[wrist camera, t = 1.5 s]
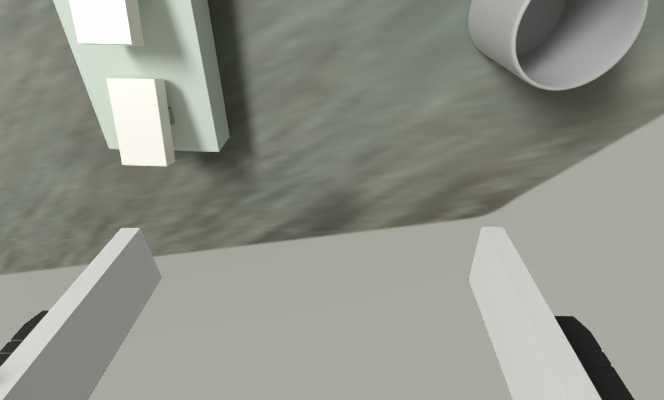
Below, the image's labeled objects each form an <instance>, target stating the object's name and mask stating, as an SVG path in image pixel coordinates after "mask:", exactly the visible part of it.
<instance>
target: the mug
mask: <svg viewBox="0 0 664 400" xmlns="http://www.w3.org/2000/svg"><path fill="white" fill-rule="evenodd" d="M647 7H648V0H472V1H471V5H470V8H469V14H468V28H469V33H470V36H471V39H472V41H473V43H474V45H475V46H476V47H477V48H478V50H479V51H481V52H482V53H483V54H484V55H486V56H487V57H489V58H491V59H492V60H494V61H496V62H497V63H499V64H500V65H502V66H503V67H504V68H506V69H507V70H509V71H510V72H512V73H513V74H515V75H516V76H518V77H519V78H521V79H522V80H524V81H525V82H527V83H529V84H530V85H532V86H535V87H537V88H540V89H544V90H552V91H559V90H568V89H572V88H576V87H579V86H582V85H584V84H587V83H589V82H591V81H593V80H595V79H596V78H598V77H600V76H601V75H603V74H604V73H605V72H607V71H608V70H609V69H611V68H612V67H613V66H614V65H615V64H616V63H617V62H618V61H619V60H620V59H621V58H622V57H623V56H624V55H625V54H626V52H627V51H628V50H629V49H630V47H631V46H632V44H633V43H634V41H635V40H636V38H637V36H638V34H639V32H640V30H641V28H642V25H643V23H644V20H645V17H646V13H647Z"/></svg>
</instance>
